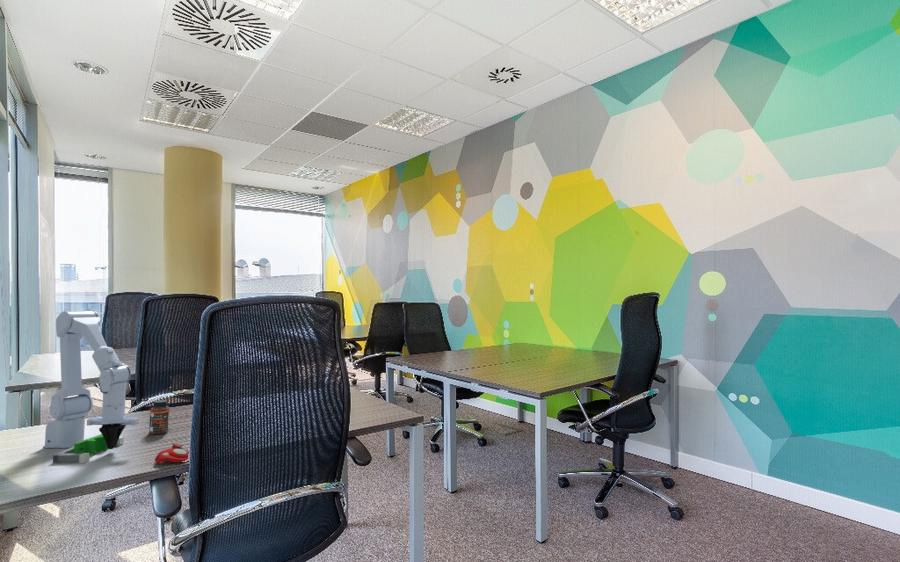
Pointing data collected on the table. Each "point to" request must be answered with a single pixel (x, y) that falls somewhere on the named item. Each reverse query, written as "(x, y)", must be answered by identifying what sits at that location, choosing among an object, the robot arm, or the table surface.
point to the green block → (91, 445)
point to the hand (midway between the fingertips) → (111, 448)
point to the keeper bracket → (76, 455)
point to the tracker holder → (172, 454)
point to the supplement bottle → (159, 417)
